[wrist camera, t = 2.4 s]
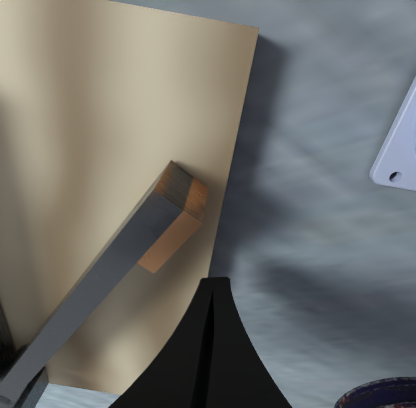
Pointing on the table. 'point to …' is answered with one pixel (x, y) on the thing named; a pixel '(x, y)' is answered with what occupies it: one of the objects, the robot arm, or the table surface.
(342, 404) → the storage jar
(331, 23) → the table surface
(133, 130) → the board
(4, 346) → the tongs fixed arm
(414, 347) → the table surface
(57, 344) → the arm
